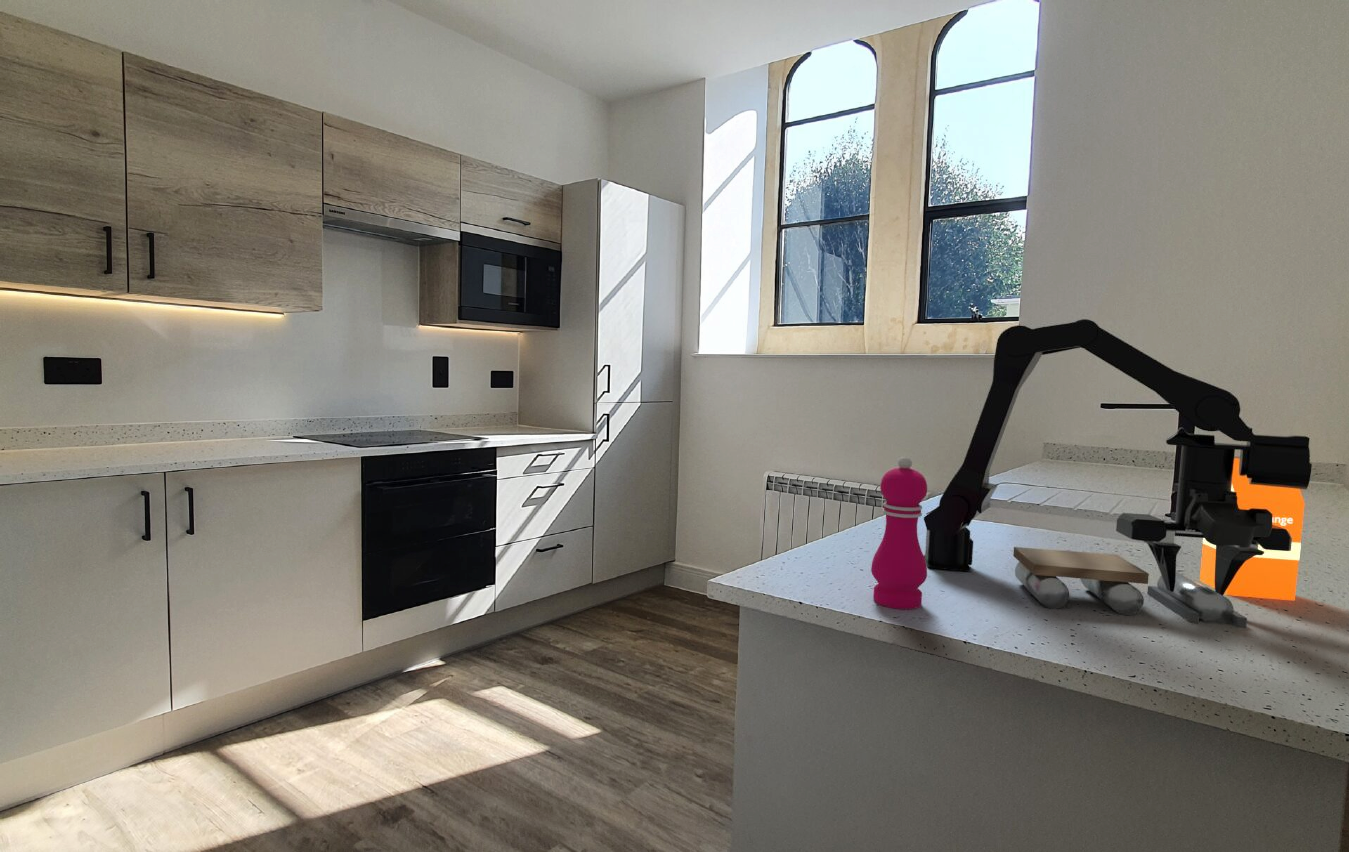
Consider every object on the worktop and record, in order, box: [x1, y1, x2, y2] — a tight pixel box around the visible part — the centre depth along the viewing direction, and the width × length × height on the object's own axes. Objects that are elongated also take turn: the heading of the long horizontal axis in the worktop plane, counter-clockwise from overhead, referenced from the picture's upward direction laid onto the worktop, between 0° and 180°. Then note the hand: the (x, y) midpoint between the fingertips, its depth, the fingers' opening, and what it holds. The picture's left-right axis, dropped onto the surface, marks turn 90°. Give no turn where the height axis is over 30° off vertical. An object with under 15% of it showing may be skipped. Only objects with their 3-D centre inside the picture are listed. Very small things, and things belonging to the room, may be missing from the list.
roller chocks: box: [1146, 585, 1248, 628], centre depth 95 cm, size 6×12×1 cm, turn 168°
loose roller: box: [1156, 571, 1235, 625], centre depth 95 cm, size 11×4×4 cm, turn 169°
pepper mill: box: [870, 456, 928, 610], centre depth 94 cm, size 7×7×20 cm
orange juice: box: [1199, 457, 1306, 601], centre depth 105 cm, size 8×9×20 cm
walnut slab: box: [1012, 546, 1150, 585], centre depth 98 cm, size 14×10×1 cm
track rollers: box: [1014, 561, 1145, 616], centre depth 98 cm, size 13×11×4 cm
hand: (1194, 592), depth 95 cm, fingers open, 6 cm apart
